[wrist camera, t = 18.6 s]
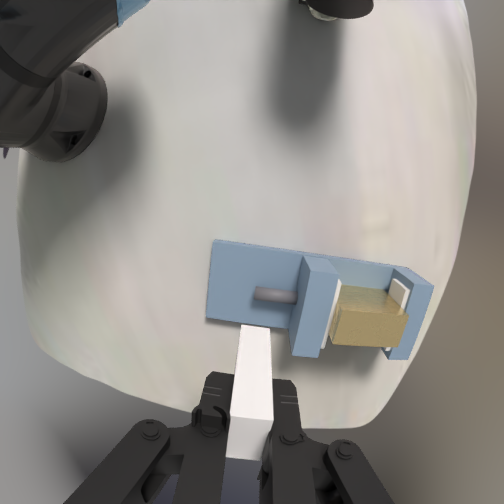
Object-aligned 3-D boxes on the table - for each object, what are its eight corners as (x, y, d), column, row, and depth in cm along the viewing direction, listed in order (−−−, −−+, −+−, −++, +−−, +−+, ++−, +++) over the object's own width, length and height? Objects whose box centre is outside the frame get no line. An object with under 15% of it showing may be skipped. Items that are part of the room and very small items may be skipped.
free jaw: (249, 325, 36) (246, 350, 31) (260, 249, 34) (260, 263, 28) (315, 332, 36) (322, 358, 31) (332, 259, 34) (345, 275, 28)
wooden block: (319, 311, 36) (332, 344, 28) (326, 282, 35) (342, 309, 27) (375, 316, 36) (397, 347, 28) (383, 289, 35) (409, 315, 27)
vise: (207, 312, 38) (196, 340, 31) (215, 239, 36) (202, 254, 29) (387, 332, 38) (407, 359, 31) (407, 267, 36) (434, 286, 28)
